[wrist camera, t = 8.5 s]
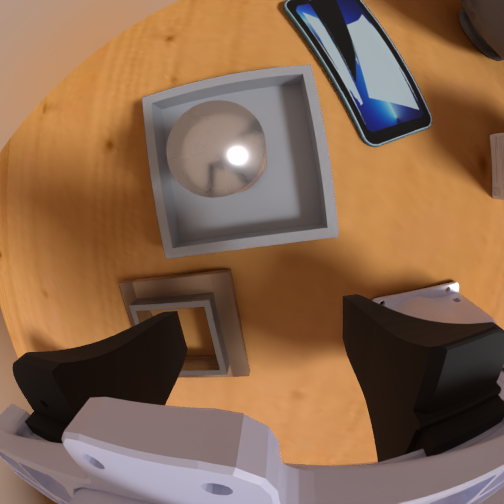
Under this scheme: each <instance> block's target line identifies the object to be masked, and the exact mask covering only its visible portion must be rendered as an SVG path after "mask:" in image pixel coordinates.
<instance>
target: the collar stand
mask: <svg viewBox="0 0 504 504" xmlns="http://www.w3.org/2000/svg"><path fill="white" fill-rule="evenodd" d="M119 287H120V290H121V294H122V297H123V300H124V304H125V307H126V310H127V313H128V316H129V319H130V322H131V325H132V327H133V326H135V325H137V324H139V323H141V322H143V321H145V320H147V319H149V318H151V317H152V315H151V312H150V310H164V309H180V308H194V307H204V308H205V312H206V317H207V321H208V325H209V329H210V333H211V337H212V341H213V345H214V349H215V353H216V355H213V356H186V357H185V361H184V364H183V367H182V369H181V372H180V374H179V376H178V377H239V376H249V373H250V369H249V364H248V359H247V354H246V349H245V344H244V339H243V333H242V328H241V323H240V318H239V312H238V307H237V302H236V296H235V291H234V285H233V280H232V274H231V269H225V270H216V271H207V272H199V273H190V274H181V275H172V276H162V277H153V278H143V279H134V280H124V281H122V282H120V283H119Z"/></svg>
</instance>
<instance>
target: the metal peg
mask: <svg viewBox="0 0 504 504" xmlns="http://www.w3.org/2000/svg"><path fill="white" fill-rule="evenodd" d="M166 155H167V162H168V165H169V168H170V171H171V173H172V175H173V176H174V178H175V179H176V180H177V182H178V183H179V184H180V185H181V186H183V187H184V188H185V189H186V190H188V191H190V192H192V193H194V194H196V195H199V196H203V197H209V198H217V197H224V196H228V195H232V194H236V193H240V192H244V191H247V190H250V189H252V188H254V187H255V186H257V185H258V184H259V183H260V182H261V181H262V179H263V178H264V176H265V174H266V171H267V152H266V140H265V135H264V131H263V129H262V126H261V125H260V123H259V121H258V120H257V118H256V117H255V116H254V115H253V114H252V113H251V112H250V111H249V110H247V109H246V108H245V107H243V106H241V105H239V104H236V103H234V102H230V101H224V100H213V101H207V102H203V103H200V104H198V105H196V106H194V107H192V108H190V109H189V110H188V111H186V112H185V113H184V114H183V115H182V116H181V117H180V118H179V119H178V120H177V121H176V123H175V124H174V126H173V128H172V130H171V132H170V134H169V137H168V141H167V148H166Z"/></svg>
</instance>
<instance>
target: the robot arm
mask: <svg viewBox="0 0 504 504" xmlns="http://www.w3.org/2000/svg"><path fill="white" fill-rule="evenodd" d="M447 287H448V289H447V290H446V288H447ZM458 292H459V284H458V283H457V282H450V283H446V284H442V285H437V286H433V287H428V288H424V289H419V290H414V291H409V292H404V293H399V294H394V295H389V296H383V297H378V298H374V299H373V300H370V299H367V298H365V297H363V296H360V295H357V294H355V295H348V296H343V341H344V345H345V349H346V352H347V356H348V358H349V361H350V363H351V365H352V368H353V370H354V372H355V375H356V377H357V379H358V382H359V384H360V386H361V389H362V391H363V394H364V397H365V400H366V403H367V407H368V411H369V415H370V420H371V424H372V429H373V434H374V439H375V445H376V451H377V457H378V463H374V464H367V465H341V466H329V465H302V464H289V463H283V461H282V458H281V454H280V446H279V441H278V440H277V438H276V437H275V435H274V434H273V432H272V431H271V429H270V428H269V427H268V426H266V425H264V424H262V423H260V422H258V421H256V420H254V419H252V418H250V417H248V416H247V415H245V414H243V413H237V412H231V411H225V410H220V409H212V408H190V407H176V406H165V404H166V401H167V399H168V397H169V395H170V393H171V391H172V389H173V387H174V385H175V382H176V380H177V378H178V376H179V374H180V372H181V369H182V367H183V364H184V361H185V357H186V353H187V350H188V349H187V346H186V342H185V339H184V335H183V332H182V328H181V324H180V320H179V316H178V313H177V311H171V312H163V313H160V314H157V315H155V316H153V317H151V318H149V319H147V320H145V321H143V322H141V323H139V324H137V325H135V326H133V327H131V328H129V329H127V330H125V331H123V332H120V333H118V334H116V335H114V336H111V337H109V338H106V339H104V340H101V341H98V342H95V343H92V344H88V345H84V346H80V347H76V348H71V349H66V350H58V351H48V352H28V353H25V354H24V355H23V356H21V357H20V358H19V359H18V360H17V361H15V362H14V363H13V374H14V377H15V379H16V382H17V384H18V386H19V388H20V389H21V391H22V393H23V394H24V396H25V398H26V399H27V401H28V402H29V404H30V405H31V407H32V409H33V410H34V412H33V413H32V414H31V415H30V414H29V413H28V412H27V411H25V410H24V409H22V408H20V407H18V406H16V405H14V404H11V405H10V406H9V407H8V408H7V409H6V410H5V411H4V412H3V413H2V414H1V415H0V457H1V458H2V459H3V460H4V461H5V462H6V463H7V465H8V466H9V467H10V468H11V469H12V470H13V471H14V472H15V473H16V474H17V475H18V476H20V477H21V478H22V479H24V480H25V481H26V482H28V483H29V484H30V485H32V486H33V487H34V488H36V489H37V490H39V491H40V492H41V493H43V494H44V495H46V496H47V497H49V498H50V499H52V500H53V501H55V502H56V503H58V504H504V330H503V329H501V328H500V327H499V326H498V325H497V323H496V322H495V320H494V319H493V318H492V317H491V316H490V315H488V314H487V313H486V312H484V311H483V310H482V309H480V308H479V307H478V306H476V305H475V304H474V303H472V302H471V301H469V300H468V299H467V298H465V297H464V296H462V295H461V294H460V293H458ZM382 301H384V303H383V304H382V305H380V303H381V302H382Z"/></svg>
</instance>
